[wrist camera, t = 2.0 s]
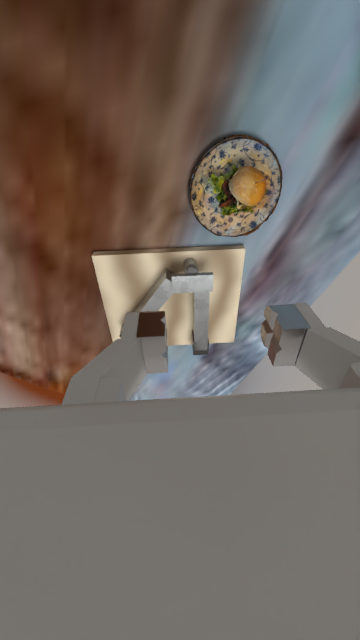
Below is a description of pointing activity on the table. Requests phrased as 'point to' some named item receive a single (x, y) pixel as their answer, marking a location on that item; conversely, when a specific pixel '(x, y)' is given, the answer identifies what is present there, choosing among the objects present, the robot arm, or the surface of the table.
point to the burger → (235, 186)
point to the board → (144, 270)
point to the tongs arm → (156, 295)
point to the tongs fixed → (196, 301)
